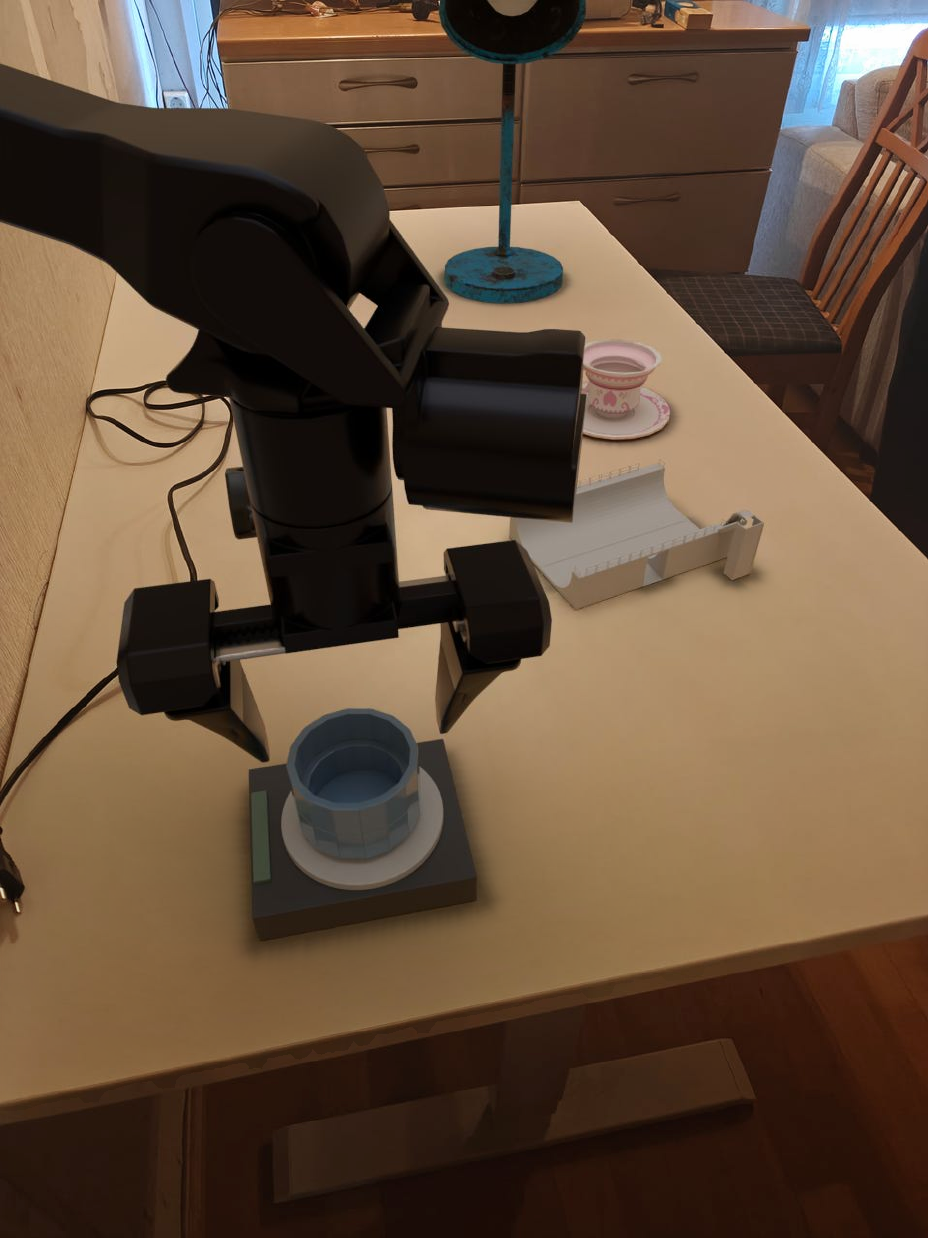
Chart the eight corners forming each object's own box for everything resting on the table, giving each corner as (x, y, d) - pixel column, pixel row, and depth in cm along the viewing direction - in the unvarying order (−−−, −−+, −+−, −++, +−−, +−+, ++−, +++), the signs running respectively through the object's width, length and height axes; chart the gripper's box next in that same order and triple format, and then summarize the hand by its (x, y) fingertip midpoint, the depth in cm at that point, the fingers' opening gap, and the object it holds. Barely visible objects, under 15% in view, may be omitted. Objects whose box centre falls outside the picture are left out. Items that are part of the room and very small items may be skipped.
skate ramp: (653, 492, 79) (661, 443, 76) (750, 574, 70) (764, 522, 67) (509, 536, 74) (511, 486, 71) (594, 630, 65) (601, 578, 62)
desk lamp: (438, 318, 108) (429, -169, 78) (447, 255, 125) (442, -167, 95) (567, 319, 108) (607, -169, 78) (559, 257, 124) (590, -167, 94)
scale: (259, 941, 47) (250, 912, 45) (254, 793, 54) (246, 762, 52) (476, 900, 49) (477, 871, 47) (443, 762, 56) (443, 731, 54)
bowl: (275, 839, 48) (261, 783, 45) (337, 750, 53) (328, 693, 50) (386, 883, 46) (380, 828, 43) (440, 786, 51) (438, 730, 48)
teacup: (664, 388, 94) (673, 333, 90) (674, 444, 86) (685, 386, 81) (553, 383, 95) (557, 328, 91) (552, 439, 86) (557, 381, 82)
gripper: (500, 375, 42) (494, 616, 53) (100, 415, 39) (177, 660, 50) (566, 502, 34) (543, 757, 44) (67, 563, 31) (168, 820, 42)
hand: (355, 741), depth 45 cm, fingers open, 9 cm apart
